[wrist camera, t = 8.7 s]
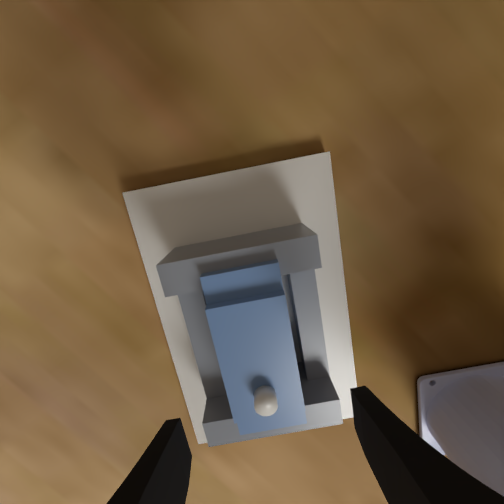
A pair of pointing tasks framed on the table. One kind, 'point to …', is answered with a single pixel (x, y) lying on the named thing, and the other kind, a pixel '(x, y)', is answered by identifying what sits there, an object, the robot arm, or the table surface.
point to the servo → (254, 346)
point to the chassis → (244, 253)
